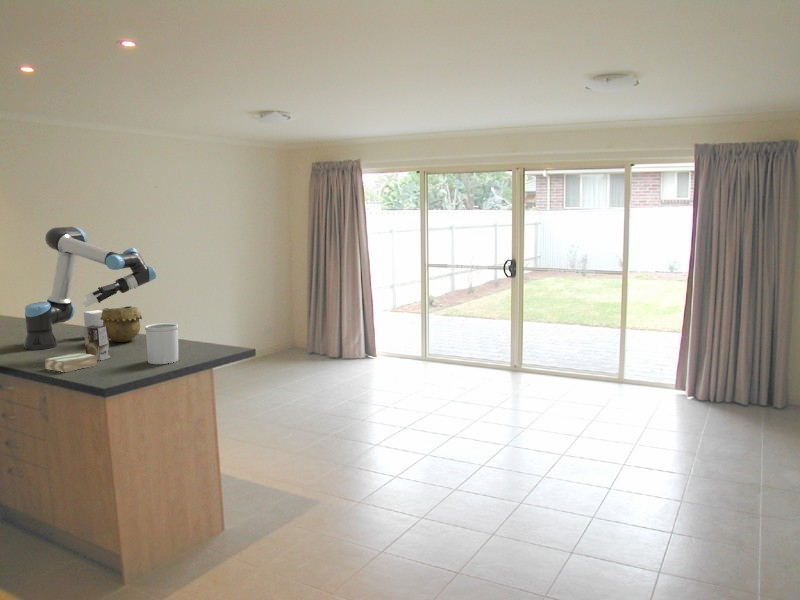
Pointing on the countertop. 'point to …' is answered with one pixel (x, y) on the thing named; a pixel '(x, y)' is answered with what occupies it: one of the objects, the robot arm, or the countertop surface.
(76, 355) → the base block
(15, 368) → the countertop surface
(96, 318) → the white canister
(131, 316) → the clay pot
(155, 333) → the utensil holder
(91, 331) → the coffee box
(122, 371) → the countertop surface
